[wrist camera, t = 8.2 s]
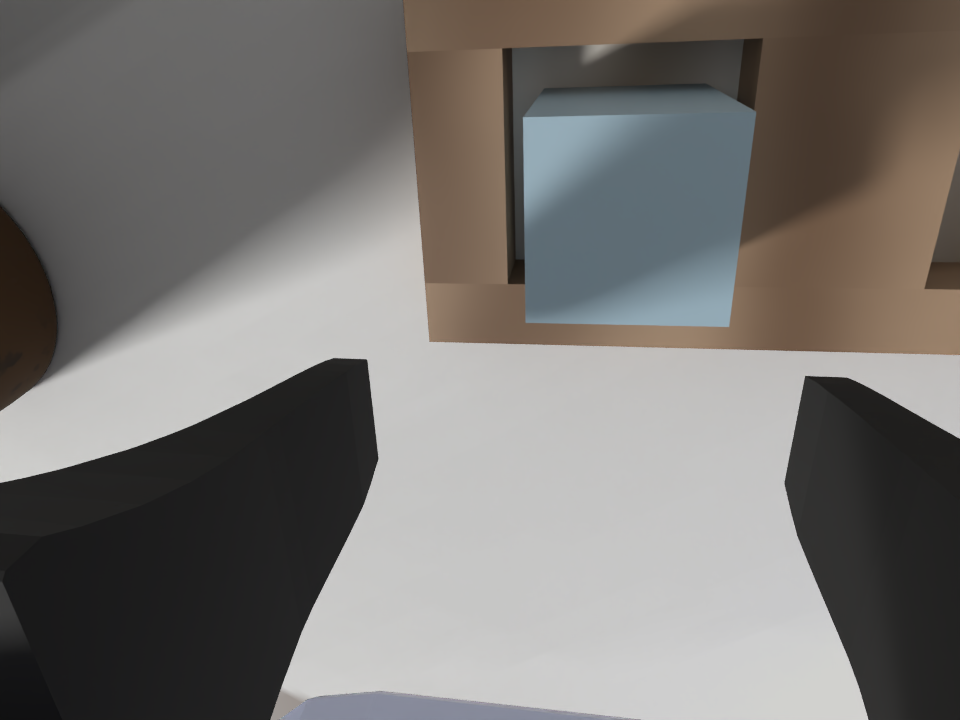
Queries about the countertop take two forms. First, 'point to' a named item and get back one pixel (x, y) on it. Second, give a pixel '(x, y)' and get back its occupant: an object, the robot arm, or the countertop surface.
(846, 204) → the brown wooden flat block
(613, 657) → the countertop surface
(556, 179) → the peg
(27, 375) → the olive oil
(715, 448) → the countertop surface
